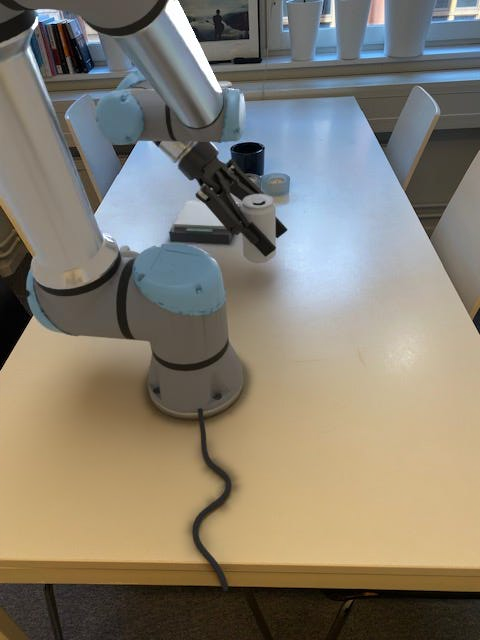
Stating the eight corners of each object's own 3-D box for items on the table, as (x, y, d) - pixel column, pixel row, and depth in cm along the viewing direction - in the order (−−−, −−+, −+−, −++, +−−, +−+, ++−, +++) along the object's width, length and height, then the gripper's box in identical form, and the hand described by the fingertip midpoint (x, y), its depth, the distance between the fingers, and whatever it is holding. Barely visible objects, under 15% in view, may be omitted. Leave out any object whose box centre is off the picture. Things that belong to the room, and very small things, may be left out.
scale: (229, 244, 111) (228, 231, 109) (170, 241, 114) (168, 228, 112) (241, 212, 123) (240, 200, 121) (187, 210, 125) (185, 198, 123)
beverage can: (248, 267, 94) (245, 210, 86) (239, 251, 99) (236, 195, 91) (280, 261, 95) (280, 204, 87) (269, 245, 100) (269, 190, 92)
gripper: (200, 145, 97) (279, 229, 103) (153, 185, 84) (246, 279, 89) (223, 119, 92) (304, 209, 98) (176, 157, 79) (274, 259, 84)
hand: (276, 242), depth 93 cm, fingers closed on beverage can, 6 cm apart
